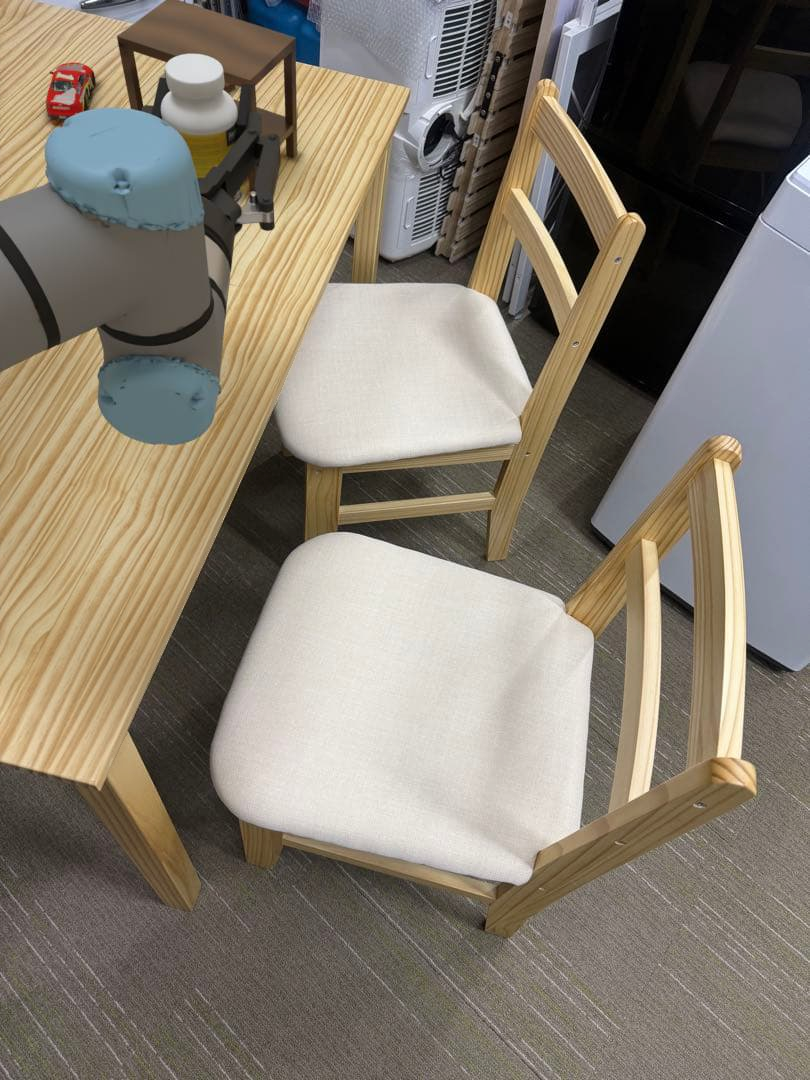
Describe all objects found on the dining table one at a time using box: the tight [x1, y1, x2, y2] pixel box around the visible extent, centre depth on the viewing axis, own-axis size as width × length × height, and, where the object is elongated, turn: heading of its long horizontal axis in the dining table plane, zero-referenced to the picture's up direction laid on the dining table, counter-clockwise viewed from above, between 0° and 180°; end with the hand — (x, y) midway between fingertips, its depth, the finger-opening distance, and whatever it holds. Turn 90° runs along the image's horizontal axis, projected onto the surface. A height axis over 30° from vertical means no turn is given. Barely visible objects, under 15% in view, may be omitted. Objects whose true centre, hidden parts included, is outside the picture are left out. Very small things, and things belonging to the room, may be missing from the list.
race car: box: [45, 62, 96, 122], centre depth 111 cm, size 13×5×4 cm, turn 2°
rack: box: [116, 0, 298, 193], centre depth 102 cm, size 12×18×16 cm, turn 68°
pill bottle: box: [161, 54, 245, 205], centre depth 68 cm, size 6×6×12 cm
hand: (206, 96), depth 71 cm, fingers closed on pill bottle, 6 cm apart
